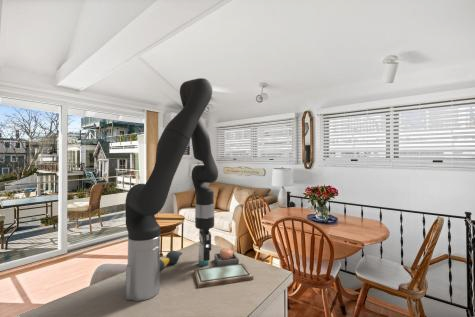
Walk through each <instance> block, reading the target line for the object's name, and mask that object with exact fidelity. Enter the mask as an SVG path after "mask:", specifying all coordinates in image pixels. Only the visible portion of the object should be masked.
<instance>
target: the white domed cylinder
mask: <svg viewBox="0 0 475 317" xmlns="http://www.w3.org/2000/svg"><path fill="white" fill-rule="evenodd" d="M207 247H208V245H206V248H207ZM209 261H210V260H209ZM209 261H204V250H203V245H202V244H200V243H199V244H198V266H199V267H207V266H209V264H210V262H209Z"/></svg>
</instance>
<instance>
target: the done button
mask: <svg viewBox="0 0 475 317" xmlns="http://www.w3.org/2000/svg"><path fill="white" fill-rule="evenodd" d="M233 252H234V251H233V249H230V248H222V249H220V250H219V253H220V259H222V260H230V259H232V258H233Z"/></svg>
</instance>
